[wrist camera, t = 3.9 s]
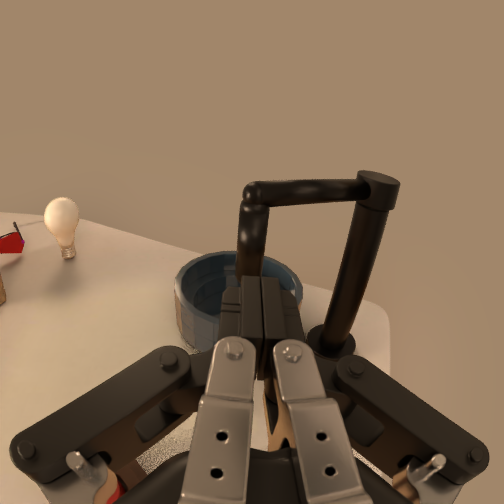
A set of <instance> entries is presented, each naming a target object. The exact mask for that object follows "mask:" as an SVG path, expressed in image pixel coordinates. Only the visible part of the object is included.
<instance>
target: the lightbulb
mask: <svg viewBox="0 0 504 504" xmlns="http://www.w3.org/2000/svg"><path fill="white" fill-rule="evenodd" d="M44 221H45V225H46V227H47V228H48V230H49V231H50V232H51V233H52V234H53V235H54V236H55V237H56V240H57V242H58V244H59V245H60V248H61V252H62V257H63V258H66V259H71V258H72V257H74V256H75V254H76V251H75V246H74V234H75V229H76V227H77V225H78V222H79V210H78V207H77V205H76V204H75V203H74V201H72V200H71V199H69V198H66V197H59V198H56V199H54V200H52V201H51V202H50V203H49V204H48V206H47V207H46V210H45V213H44Z"/></svg>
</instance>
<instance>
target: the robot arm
mask: <svg viewBox="0 0 504 504" xmlns="http://www.w3.org/2000/svg"><path fill="white" fill-rule="evenodd" d="M256 375H257V380H264V392H263V404H264V412H265V419H266V426H267V433H268V452H267V451H262V450H257V449H253V448H250V445H251V432H252V419H253V388H254V380H256ZM193 412H197V417H196V422H195V427H194V432H193V436H192V441H191V446H190V450H189V451H185V452H182V453H179V454H177V455H175V456H173V457H171V458H169V459H168V460H166V461H165V462H163V463H162V464H161V465H160V466H158V467H157V468H156V469H155V470H154V471H153V472H151V473H150V474H149V475H148V476H146V477H145V478H144V479H143V480H142V481H140V482H139V483H138V484H136V485H135V486H134V487H133V488H131V489H130V490H129V491H128V492H126V493H125V494H124V495H122V496H121V497H120V498H118V499H117V500H116V501H114V502H113V503H112V504H453V502H454V501H455V499H456V497H457V496H458V494H459V492H460V490H461V488H462V486H463V485H464V484H465V483H466V482H468V481H470V480H471V479H473V478H474V477H476V476H477V475H479V474H480V473H481V472H483V471H484V470H485V469H486V468H487V466H488V463H489V452H488V449H487V447H486V446H485V445H484V443H482V442H481V441H480V440H478V439H477V438H475V437H474V436H472V435H471V434H470V433H468V432H467V431H465V430H464V429H462V428H461V427H460V426H458V425H457V424H455V423H454V422H452V421H451V420H449V419H448V418H446V417H445V416H444V415H442V414H441V413H440V412H438V411H437V410H435V409H434V408H433V407H431V406H430V405H429V404H427V403H426V402H424V401H423V400H421V399H420V398H418V397H417V396H416V395H415V394H413V393H412V392H410V391H409V390H407V389H406V388H405V387H403V386H402V385H401V384H399V383H398V382H397V381H395V380H394V379H392V378H391V377H390V376H388V375H387V374H386V373H384V372H383V371H381V370H380V369H379V368H377V367H376V366H375V365H373V364H372V363H371V362H369V361H368V360H366V359H365V358H363V357H361V356H357V355H346V356H344V357H342V358H340V359H339V361H338V362H334V361H330V360H326V359H323V358H320V357H318V356H316V355H315V354H313V351H312V349H311V348H310V347H309V346H308V345H307V344H306V343H305V338H304V333H303V328H302V323H301V318H300V313H299V309H298V304H297V299H296V297H295V296H294V295H293V294H292V293H291V291H288V290H280V285H279V279H278V278H273V277H258V276H245V275H242V279H241V287H230V286H228V287H227V289H226V290H225V291H224V292H223V294H222V302H221V312H220V321H219V330H218V339H217V342H216V344H215V345H214V346H213V347H212V348H211V349H209V350H208V351H205V352H203V353H198V354H192V355H189V354H188V353H187V352H186V351H185V350H183V349H182V348H179V347H176V346H163V347H160V348H157V349H155V350H154V351H152V352H151V353H149V354H148V355H146V356H145V357H143V358H141V359H140V360H138V361H137V362H135V363H134V364H132V365H130V366H129V367H127V368H126V369H124V370H122V371H121V372H119V373H118V374H116V375H115V376H113V377H111V378H110V379H108V380H107V381H105V382H103V383H102V384H100V385H98V386H97V387H95V388H94V389H92V390H90V391H89V392H87V393H85V394H84V395H82V396H81V397H79V398H77V399H76V400H74V401H72V402H71V403H69V404H67V405H66V406H64V407H62V408H61V409H59V410H57V411H56V412H54V413H52V414H51V415H49V416H47V417H46V418H44V419H42V420H41V421H39V422H37V423H35V424H34V425H32V426H30V427H29V428H27V429H25V430H23V431H22V432H20V433H18V434H17V435H16V436H15V437H14V438H13V439H12V441H11V444H10V448H9V453H10V457H11V460H12V462H13V464H14V465H15V466H16V467H17V468H18V469H19V470H21V471H22V472H23V473H25V474H26V475H27V476H28V477H29V478H30V479H31V480H33V481H34V482H36V483H37V484H38V486H39V487H40V489H41V491H42V492H43V494H44V495H45V497H46V498H47V500H48V501H49V503H50V504H106V502H107V500H108V499H109V498H110V497H111V496H112V495H113V494H114V492H115V491H116V489H117V477H116V475H115V473H116V472H117V471H119V470H120V469H122V468H123V467H125V466H126V465H127V464H129V463H130V462H132V461H133V460H134V459H136V458H137V457H138V456H140V455H141V454H142V453H144V452H145V451H146V450H148V449H149V448H150V447H152V446H153V445H154V444H156V443H157V442H158V441H160V440H161V439H162V438H164V437H165V436H166V435H167V434H169V433H170V432H171V431H173V430H174V429H175V428H176V427H178V426H179V425H180V424H181V423H183V422H184V421H185V420H186V419H188V418H189V417H190V416H191V415H192V413H193ZM351 447H352V448H353V449H354V450H356V451H357V452H358V453H359V454H361V455H362V456H363V457H364V458H366V459H367V460H368V461H369V462H371V463H372V464H373V465H374V466H376V467H377V468H378V469H380V470H381V471H382V472H384V473H385V474H386V475H388V476H389V477H390V478H392V479H393V480H392V486H391V485H390V484H389V483H387V482H386V481H385V480H384V479H383V478H381V477H380V476H379V475H378V474H376V473H375V472H374V471H373V470H372V469H371V468H369V467H368V466H367V465H366V464H365V463H363V462H362V461H361V460H359V459H358V458H356V457H354V454H353V451H352V448H351Z"/></svg>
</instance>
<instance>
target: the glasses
mask: <svg viewBox="0 0 504 504" xmlns="http://www.w3.org/2000/svg"><path fill="white" fill-rule="evenodd" d="M13 224H14V227H15V228H16V230H17V232H12V233H9V234H11V235H9V234H6V235H4V236H6V237H4V236H1V237H0V253H1V254H2V253H22V250H23V247H24V240H23V239H22V236H21V234H20V232H19V230H18V227H17V225H16V222H13ZM7 235H8V236H7ZM2 237H4V238H2ZM1 238H2V239H1Z"/></svg>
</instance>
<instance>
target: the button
mask: <svg viewBox="0 0 504 504" xmlns="http://www.w3.org/2000/svg"><path fill="white" fill-rule="evenodd" d="M124 494H125V489H124V487H123V485H122V484H121V483H120V481H119V480H118V479H117V489H116V491H115V492H114V494H113V495H112V496H111V497H110V498H109V499H108V500H107V502H106V504H112V503H113V502H114V501H116V500H117V499H118V498H120V497H121V496H122V495H124Z"/></svg>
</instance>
